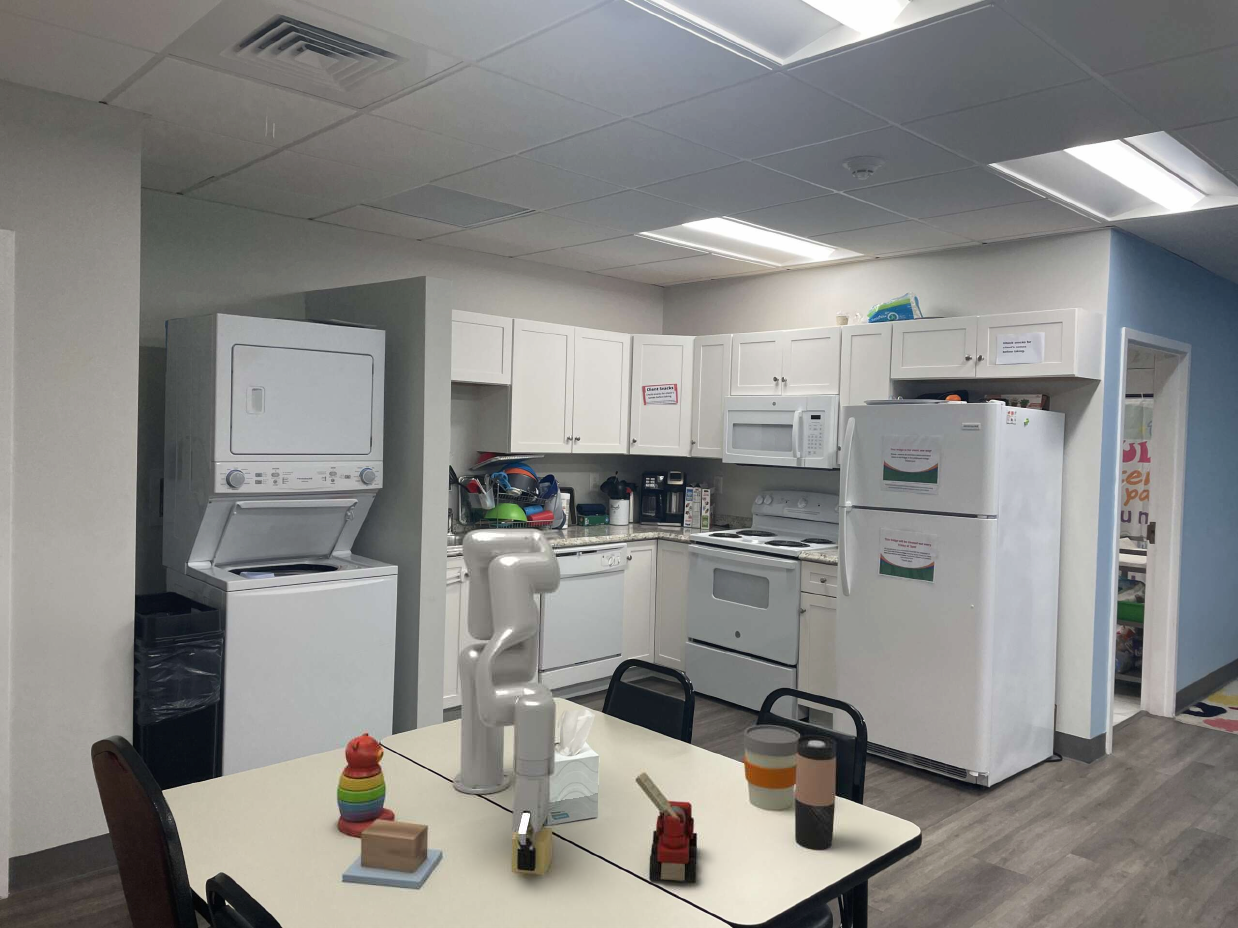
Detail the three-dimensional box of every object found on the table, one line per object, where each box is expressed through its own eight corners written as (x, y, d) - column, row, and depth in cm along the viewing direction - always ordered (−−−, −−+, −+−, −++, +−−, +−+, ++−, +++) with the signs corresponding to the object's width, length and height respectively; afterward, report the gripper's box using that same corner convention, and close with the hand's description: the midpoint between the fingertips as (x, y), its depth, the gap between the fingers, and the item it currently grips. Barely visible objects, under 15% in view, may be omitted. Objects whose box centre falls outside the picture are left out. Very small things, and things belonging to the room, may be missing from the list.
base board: (370, 849, 170) (370, 843, 170) (442, 856, 168) (442, 850, 168) (342, 880, 158) (342, 874, 158) (419, 888, 156) (419, 881, 156)
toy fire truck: (697, 848, 174) (699, 757, 174) (695, 888, 159) (698, 789, 158) (638, 844, 175) (640, 754, 175) (631, 883, 160) (633, 785, 159)
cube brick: (520, 856, 169) (520, 824, 169) (551, 859, 168) (552, 827, 168) (511, 871, 163) (512, 838, 163) (543, 875, 162) (544, 842, 162)
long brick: (376, 850, 167) (377, 818, 167) (427, 857, 165) (427, 825, 165) (360, 865, 161) (361, 832, 161) (413, 872, 159) (413, 839, 159)
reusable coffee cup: (774, 818, 188) (776, 747, 188) (729, 799, 198) (731, 731, 197) (811, 803, 196) (813, 735, 196) (766, 785, 206) (768, 720, 205)
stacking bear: (373, 839, 174) (375, 748, 174) (325, 833, 176) (326, 743, 176) (398, 816, 185) (399, 730, 184) (352, 811, 187) (353, 725, 186)
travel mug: (835, 836, 181) (838, 737, 180) (831, 853, 173) (834, 750, 173) (796, 830, 183) (799, 732, 182) (791, 846, 176) (794, 744, 175)
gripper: (525, 746, 174) (523, 836, 175) (501, 779, 157) (499, 879, 157) (563, 748, 173) (561, 839, 174) (543, 783, 156) (541, 883, 156)
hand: (531, 857), depth 166 cm, fingers open, 7 cm apart
